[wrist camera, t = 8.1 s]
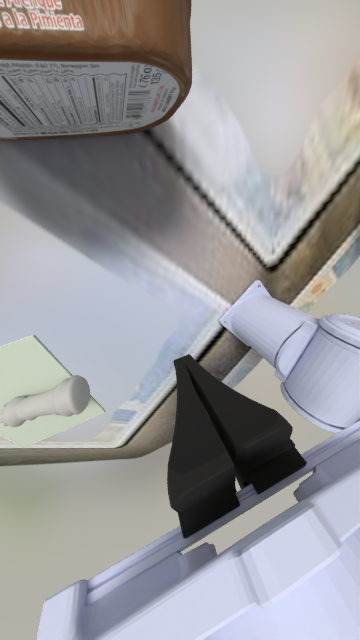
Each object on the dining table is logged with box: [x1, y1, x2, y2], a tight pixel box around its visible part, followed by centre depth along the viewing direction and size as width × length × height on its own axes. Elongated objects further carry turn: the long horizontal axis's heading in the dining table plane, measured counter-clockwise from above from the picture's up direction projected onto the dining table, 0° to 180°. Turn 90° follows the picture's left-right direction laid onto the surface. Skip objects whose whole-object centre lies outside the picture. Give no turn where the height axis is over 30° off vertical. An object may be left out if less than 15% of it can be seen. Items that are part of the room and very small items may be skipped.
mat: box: [0, 335, 105, 448], centre depth 20 cm, size 12×16×1 cm
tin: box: [0, 0, 192, 140], centre depth 8 cm, size 15×3×8 cm, turn 99°
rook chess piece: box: [0, 375, 90, 427], centre depth 19 cm, size 4×4×8 cm
